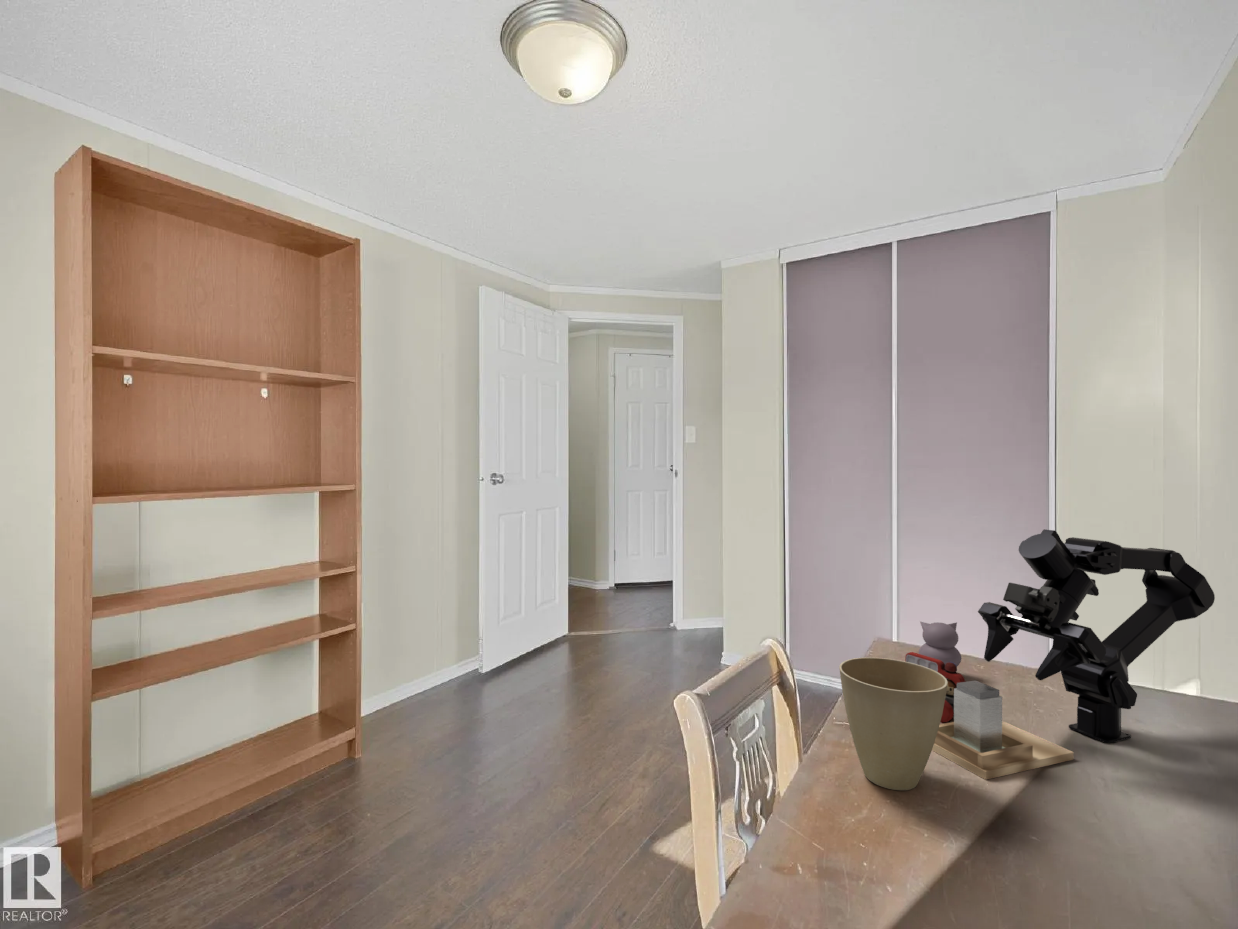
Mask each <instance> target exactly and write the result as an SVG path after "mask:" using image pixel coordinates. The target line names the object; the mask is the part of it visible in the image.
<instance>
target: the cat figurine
mask: <svg viewBox="0 0 1238 929" xmlns="http://www.w3.org/2000/svg"><path fill="white" fill-rule="evenodd" d="M919 622H920V626H921V628H922V639H923V641H924V642H925V643H923V645H921V646H920V647H919V650H918V654H921V655H924V656H928V657H931V658H935V659H938V660H941V661H943V662H944V664H946V663H948V662H952V663H954V664H955V665H956V666H957V667H959V666H960V664H961V662H962V654H961V652H960V651H959V650H958V648H957V647H956V646H957V644H958V642H959V634H958V632H957V624H958V622H952V623H945V622H932V623H928V622H924V621H919ZM946 679H947V678H946Z"/></svg>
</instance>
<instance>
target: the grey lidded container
mask: <svg viewBox="0 0 1238 929" xmlns="http://www.w3.org/2000/svg"><path fill="white" fill-rule="evenodd" d="M953 722H954V739H955V740H957V741H959V742H961V743H963V744H965V745H967V746H969V747H971V748H973V749H975V750H977V751H979V752H981V753H984V752H988V751H993V750H998V749H1002V722H1003V696H1001V695H1000V689H999V688H998V689H997V688H995V687H994V686H990V685H988V684H986V683H983V682H980V681H978V680H969V681H968V680H967V681H966V682H960V683H957V688H954V715H953Z"/></svg>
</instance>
